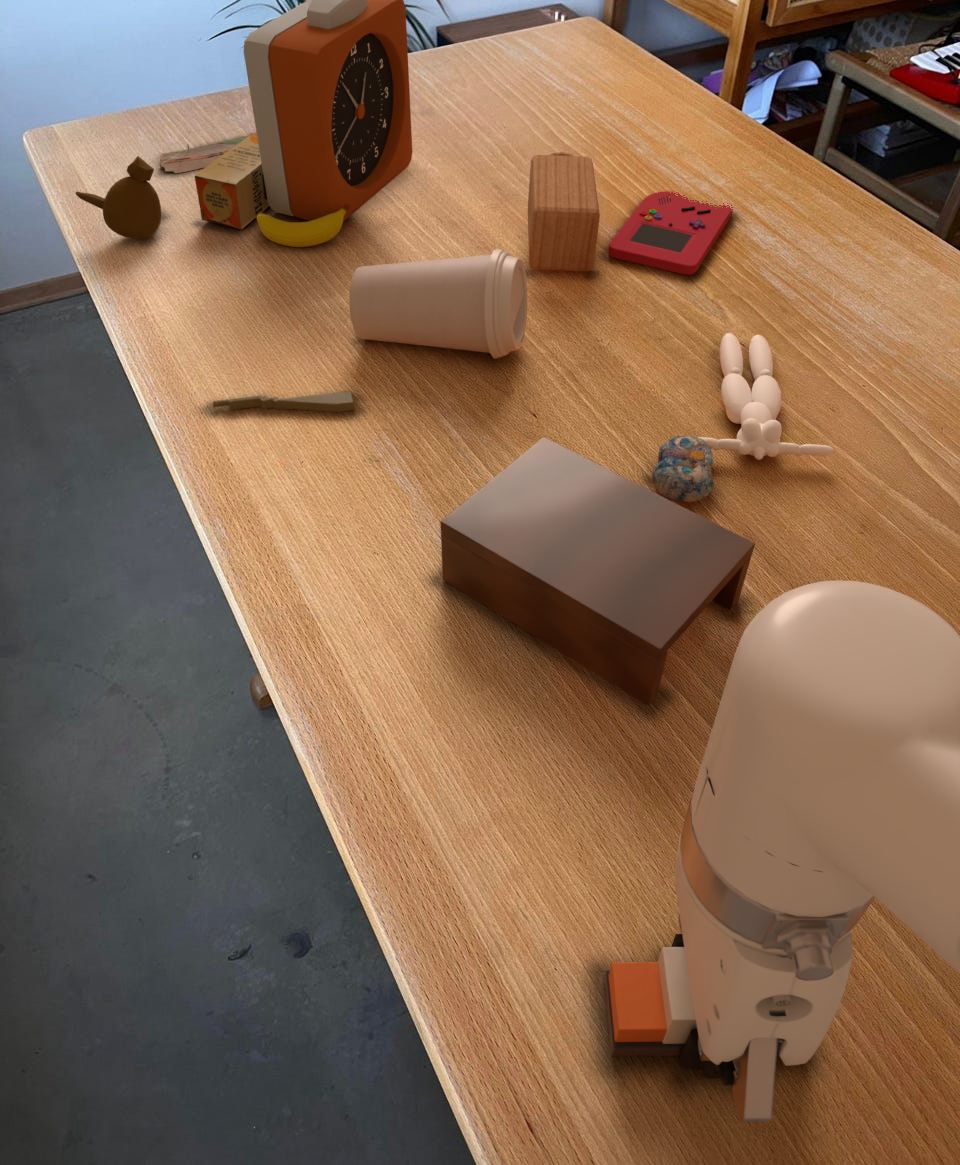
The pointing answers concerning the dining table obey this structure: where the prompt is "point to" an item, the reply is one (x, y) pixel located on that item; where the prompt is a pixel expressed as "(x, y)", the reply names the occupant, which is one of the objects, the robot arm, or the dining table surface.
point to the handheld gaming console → (670, 232)
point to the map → (196, 156)
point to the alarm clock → (330, 103)
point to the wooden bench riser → (591, 563)
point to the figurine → (130, 203)
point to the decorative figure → (755, 404)
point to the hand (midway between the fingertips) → (703, 1013)
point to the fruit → (302, 229)
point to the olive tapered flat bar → (295, 402)
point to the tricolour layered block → (650, 1005)
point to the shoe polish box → (233, 186)
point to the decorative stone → (684, 469)
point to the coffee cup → (443, 303)
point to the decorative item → (562, 212)
